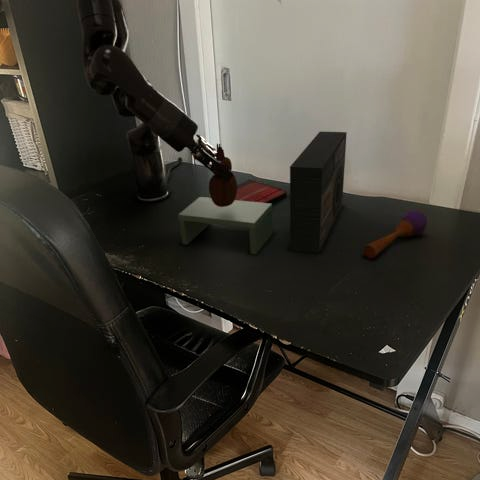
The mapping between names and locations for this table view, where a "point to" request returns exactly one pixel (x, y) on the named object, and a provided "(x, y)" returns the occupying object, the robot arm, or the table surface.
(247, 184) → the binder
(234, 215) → the desk shelf
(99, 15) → the robot arm
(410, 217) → the orange and purple maraca
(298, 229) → the cassette player
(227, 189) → the wooden figurine
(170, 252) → the table surface
